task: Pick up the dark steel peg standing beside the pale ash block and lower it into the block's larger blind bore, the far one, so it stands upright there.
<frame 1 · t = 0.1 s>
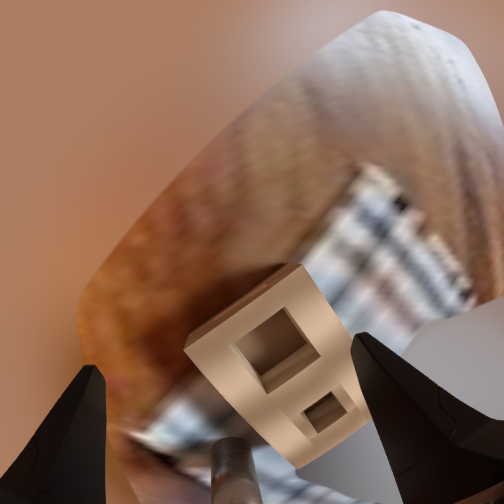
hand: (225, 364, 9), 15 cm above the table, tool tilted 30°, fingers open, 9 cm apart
bore block: (288, 364, 24), on the table
peg: (231, 452, 23), on the table
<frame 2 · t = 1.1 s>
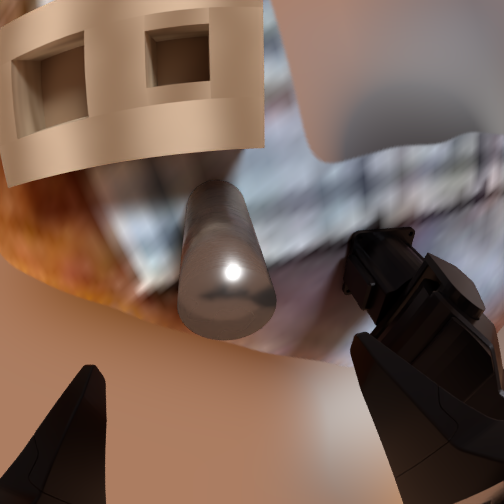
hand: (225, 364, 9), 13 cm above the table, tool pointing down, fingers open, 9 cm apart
bore block: (128, 71, 14), on the table
peg: (216, 207, 20), on the table
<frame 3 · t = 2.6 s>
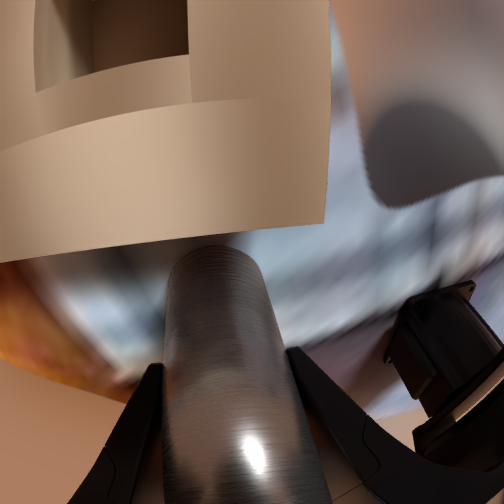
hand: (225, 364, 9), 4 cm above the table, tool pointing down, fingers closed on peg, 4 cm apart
bore block: (51, 62, 6), on the table
peg: (216, 286, 12), on the table, touching gripper
when the fingers open (6 cm above the table, at t = 6.4 s): peg stays where it is, resting on bore block.
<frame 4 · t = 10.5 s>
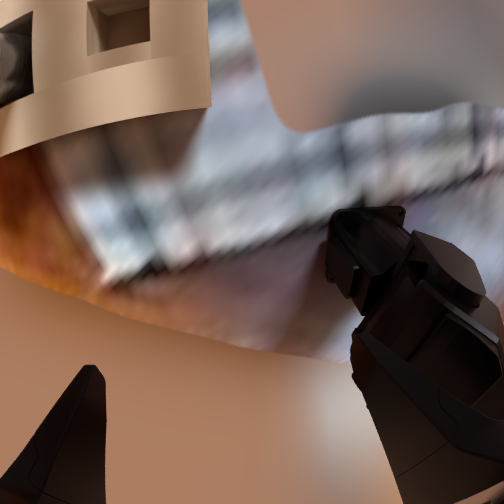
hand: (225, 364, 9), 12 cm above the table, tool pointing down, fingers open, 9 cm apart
bore block: (83, 49, 12), on the table
peg: (30, 66, 10), point 1 cm above the table, touching bore block
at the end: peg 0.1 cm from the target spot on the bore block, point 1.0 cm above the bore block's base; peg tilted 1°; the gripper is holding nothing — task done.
